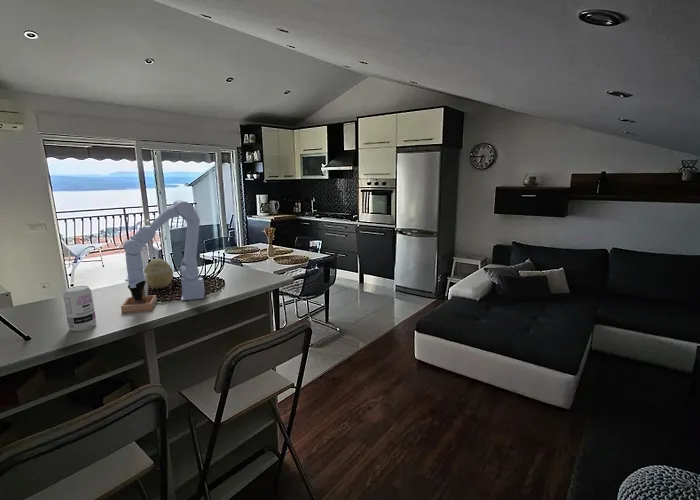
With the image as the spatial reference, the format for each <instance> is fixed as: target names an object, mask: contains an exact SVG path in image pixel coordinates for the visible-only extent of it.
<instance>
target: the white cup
mask: <svg viewBox="0 0 700 500" xmlns="http://www.w3.org/2000/svg"><path fill="white" fill-rule="evenodd" d="M126 277H127V278H126V279H128V275H127V276H126ZM144 277H145V280H143V281H146V283H145V286H144V289H145V296H149V285H148V281H147V274H146V273H144ZM127 282H128V281H127ZM128 285H130V283H129V282H128ZM129 291H130V290H129ZM129 293H130V296H131V297H132V293H131V291H130V292H129Z"/></svg>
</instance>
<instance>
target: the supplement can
mask: <svg viewBox="0 0 700 500" xmlns="http://www.w3.org/2000/svg"><path fill="white" fill-rule="evenodd" d="M62 297H63V303H64V308H65V309H64V310H65V314H66V319H67V324H68V325H67V326H68V330H70V331H71V332H84V331H88V330H90V329H93V328H94V327H95V326H96V325H97V318H96V317H97V316H96V311H95V305H94V299H93V293H92V289H91V288H90V287H89V286H88V285H78V286H72V287H68V288H66V289H64V292H63V295H62Z"/></svg>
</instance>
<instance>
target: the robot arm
mask: <svg viewBox="0 0 700 500" xmlns="http://www.w3.org/2000/svg"><path fill="white" fill-rule="evenodd" d="M179 217H180V218H182V219H183V220H184V221H185V222H186V230H185V231H186V232H185V242H184V243H185V244H184V252H183V257H182V260H181V264H180V265H179V267H178V272H179V274H180V275H181V277H180V283H181V284H180V285H181V292H182V293H181V298H180V300H181V301H190V300H191V301H192V300H199V299H204V297H205V294H206V292H205V291H206V289H205V282H204V278H203V277H199V275H200V272H199V268H198V266H199V265H198V260H197V255H198V253H197V252H198V242H199V234H200V233H199V231H200V221H201V220H200V217H199V215H198V213H197V212H196V209H195V206H193V205H192V204H191V203H190V202H188V201H184V200H179V199H178V200H175V201H174V202H173V203H172V204H170V205H168V206H167V207H166V208H165V209H164V210H163V211H162V212H161V213H160V214H159V215H158V216H157V217H156V218H155V219H154V220H153V221H152V222H151V223H150V225H143V226H140V227H139V228H138V231H137V232H135V234H134V235H130V237H129V239H127V240H126V241H124V243H123V246H122V248H123V250H124V251H125V253H124V254H125V263H126V270H127V276H128V278H125V279H124V280H125V282H129V283H130V285H129V283H128V285H127V288H128V289H129V291H131V292H132V294H133V296H134V299H135V301H140V300H141V299H142V289H144V286H145V283H146V281H143V280H145V277H144V267H143V266H144V265H143V264H144V263H143V257H142V250H143V247H145V246H146V245H147V244H149V242H150V241H152V239H154V238H155V237H156V234H157V230H159V229H160V228H162V226H163V225H164V224H166V223H167V222H168V221H169V220H171V219H174V218H179ZM131 292H130V293H131Z"/></svg>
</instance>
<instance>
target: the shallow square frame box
mask: <svg viewBox="0 0 700 500" xmlns="http://www.w3.org/2000/svg"><path fill="white" fill-rule="evenodd" d="M145 297H146V303H144V302H138V303H133V300H132V297H127V298H126V299H125V300H124V301H123V303H122V304H121V305H120V309H121V314H133V313H140V312H141V313H142V312H149V311H151V312H152V311H153V310H154V308H155V306H156V305H157V303H158V300H157V295H156V294H153V295H147V296H145Z"/></svg>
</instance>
